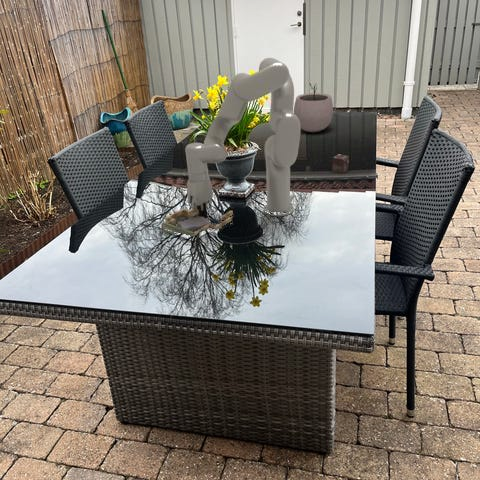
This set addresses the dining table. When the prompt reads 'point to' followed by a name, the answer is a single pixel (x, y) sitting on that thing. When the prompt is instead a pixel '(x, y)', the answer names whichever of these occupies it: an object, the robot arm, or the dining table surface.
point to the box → (340, 163)
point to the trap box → (185, 214)
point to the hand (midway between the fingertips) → (203, 217)
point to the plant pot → (313, 110)
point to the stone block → (193, 223)
